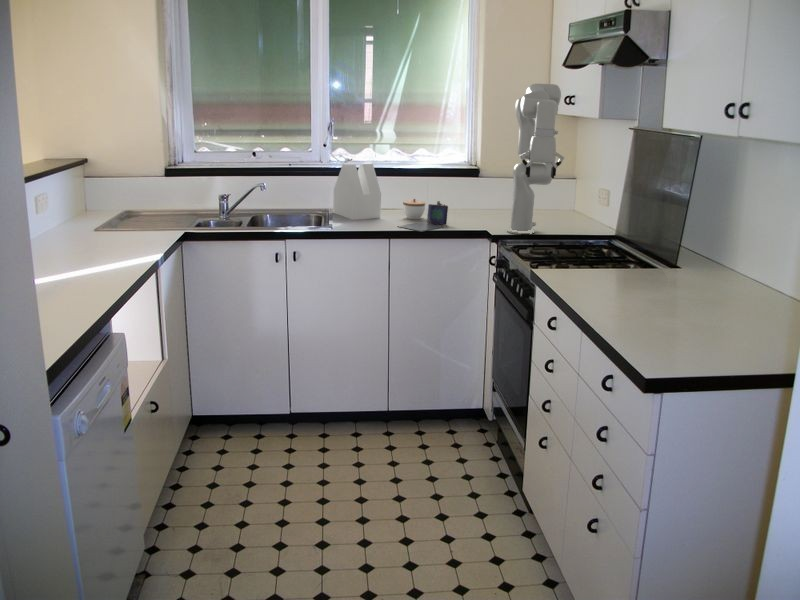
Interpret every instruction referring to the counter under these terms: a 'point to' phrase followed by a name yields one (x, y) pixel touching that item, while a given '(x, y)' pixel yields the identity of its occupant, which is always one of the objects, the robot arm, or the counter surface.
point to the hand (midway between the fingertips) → (540, 177)
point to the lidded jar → (413, 209)
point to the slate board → (420, 226)
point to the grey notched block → (357, 192)
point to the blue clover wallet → (437, 213)
